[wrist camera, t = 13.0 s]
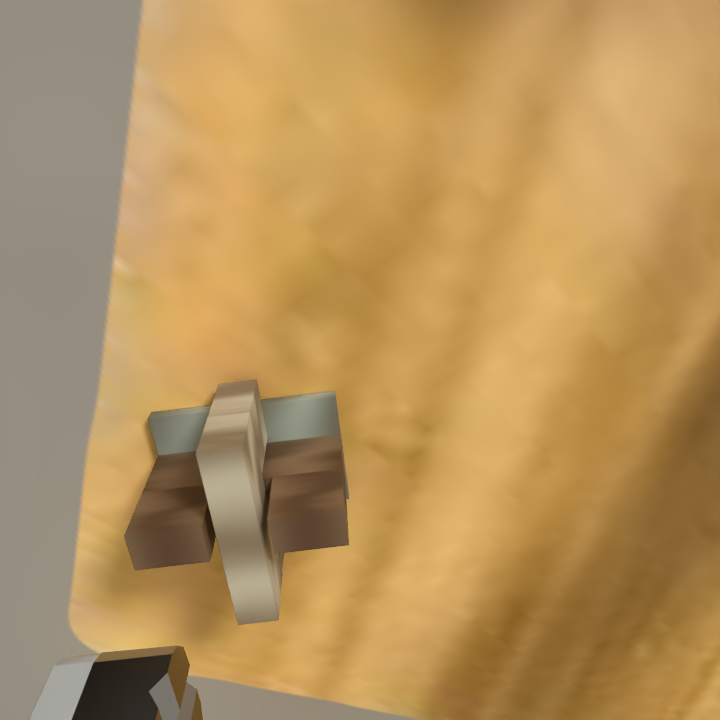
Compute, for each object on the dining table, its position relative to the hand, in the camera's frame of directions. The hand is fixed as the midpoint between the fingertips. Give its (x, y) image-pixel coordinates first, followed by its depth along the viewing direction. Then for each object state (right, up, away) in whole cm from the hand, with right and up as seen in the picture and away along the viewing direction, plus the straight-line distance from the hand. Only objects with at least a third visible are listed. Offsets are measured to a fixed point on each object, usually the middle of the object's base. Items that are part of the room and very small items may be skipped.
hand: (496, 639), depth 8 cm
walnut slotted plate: (-9, -3, +35) cm, 36 cm away
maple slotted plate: (-9, -3, +34) cm, 35 cm away
